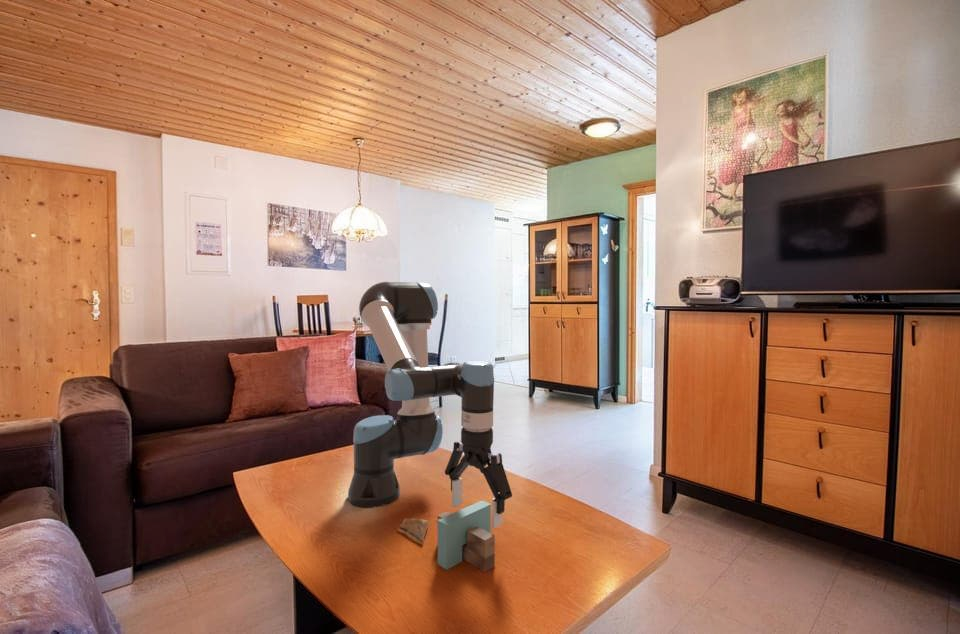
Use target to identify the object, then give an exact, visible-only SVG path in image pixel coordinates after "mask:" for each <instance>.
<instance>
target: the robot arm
mask: <svg viewBox="0 0 960 634" xmlns="http://www.w3.org/2000/svg"><path fill="white" fill-rule="evenodd" d="M433 288H434V287H432V286H431V285H430V284H428V283H427V282H426V283H425V282H418V281H415V282H411V281H409V282H407V281H406V282H405V281H404V282H403V281H401V282H400V281H395V282H394V281H393V282H392V281H390V282H389V281H381V282H378V283H376V284H373V285H372V286H370V287H369V288H368V289H366V291H365V292H364V293H363V295H362V296H361V298H360V301H359V306H358V312H359V316H360V318H361V321H362V323H363V324H364V325H365V326H366V327H368V328H369V330H370V332H371V335H372V337H373V339H374V341H375V343H376V344H375V345H377V348H378V350H379V353H380V355H381V357H382V359H383V362H384V364H385V366H386V368H387V372H386V373H385V377H384V389H385V394H386V396H387V398H388V399H389V400H391V401H393V402H394V401H395V402H398V401H399V402H402V403H401V405H402V406H401V408H400V409H399V410H398V411H397V418H396V419H394V417H393V416H391V415H389V414H383V415H378V414H377V415H373V416H369V417H367V418H363V419H361V420H360V421H358V422H357V423H356V424H355V425H354V428H353V438H352V442H353V473H352V478H351V482H350V484H349V488H348V491H347V500H348V502H349V503H350V504H352V505H353V506H356V507H361V508H374V507H382V506H385V505H388V504H390V503H393V502H395V501H396V500H397V499H399V498H400V495H401V490H400V489H401V487H400V483H399V481H398V476H397V475H396V471H395V467H394V466H395V465H394V464H395V460H396V459H404V458H408V457H413V456H414V457H415V456H420V455H421V456H423V455H426V454H429V453H434V452H435V451H437V449H438V448H440V446H441V442H442V439H443V433H444V432H443V429H444V428H443V424H442V419H441V417H440V416H439V415H438V414H436V413H435V409H434V408H433V407H432V406H431V403H430V398H437V397H438V398H439V397H446V396H458V397H460V398H461V406H460V407H461V426H462V428H460V432H461V433H460V440H457V441H454V443H453V448H452V452H451V455H450V457H449V460H448V462H447V465H446V468H445V470H444V474H445V475H446V476H449V479H450V491H451V507H452V508H457V507H458V506H461V505H462V504H463V478H462V475H463V473H465V471H466V469H467V468H468V467H469V466H470V467H474V468H476V469H478V470H479V472H480V473H481V474H483V476H484V478H485V480H486V482H487V485H488V486H489V488H490V490H491V493H492V494H493V496H494V497H493V498H492V499H491V529H496V528H498V527H500V526H502V525H503V513H505V505H506V504H505V503H506V502H505V501H507V500H508V499H511V498H512V497H513V493H512V489H511V487H510V483H509V480H508V477H507V474H506V470H505V467H504V465H503V457H502V456H503V455H502V454H501V452H498V453H493V452H492V448H491V447H492V445H493V443H494V429H493V427H494V396H495V395H494V393H495V375H494V374H495V373H494V365H493V364H492V363H491V362H489V361H484V360H467V361H465V362H463V363H462V364H461V363H459V362H452V361H451V362H447V363H445V364H442V365H436V366H435V365H434V366H429V355H428V354H429V351H428V350H429V349H428V329H429V328H430V326H432V320H433V319H435V318H436V317H437V315H438V310H439V303H438V298H437V295H436V294H437V293H436V291H435V290H434V289H433ZM463 454H464V455H463Z"/></svg>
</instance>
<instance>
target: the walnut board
mask: <svg viewBox="0 0 960 634" xmlns="http://www.w3.org/2000/svg"><path fill="white" fill-rule="evenodd" d="M452 513H453V512H449V511H445V512H441V513H440V514H438V515H437V521H438V520H439V519H441V518H444V517H446V516H448V515H450V514H452ZM495 539H496V538H495V534H492V533H489V532H487V531H485V530H483V529H481V528H479V527H477V526H476V527H474V528H472V529H470V530H468V531H467V543H466V544H464V545H462V560H464V561H465V562H467V563H469V564H471V565H472V566H474V567H476V568H478V569H479V570H481V571H483V572H484V573H486V572H488V571H490V569H493V568H494V567H495V562H496V561H495V546H496V545H495V541H496V540H495Z"/></svg>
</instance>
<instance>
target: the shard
mask: <svg viewBox="0 0 960 634" xmlns="http://www.w3.org/2000/svg"><path fill="white" fill-rule="evenodd" d="M428 527H429V521H428V520H426V519H423V518H404V519H403V521H402V523H401V524H400V526H398V527H397V531H398V533H402V534H405V536H406V537H408V538H409V539H411V540H412V541H413V542H415V543H417V544H420V545H423V544H424V540H425V535H426V534H427V530H428Z"/></svg>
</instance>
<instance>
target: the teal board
mask: <svg viewBox="0 0 960 634" xmlns="http://www.w3.org/2000/svg"><path fill="white" fill-rule="evenodd" d="M451 513H452V514H450V515H448V516H446V517H444V518H441V519H439V520H438V519H437V565H438V566H440V567H441V568H442V569H444V570H449V569H450V568H452V567H454V566H456V565H458V564H460V563H462V562H463V559H462V545H464V544H466V543H467V531H468V530H470V529H472V528H474V527H476V526H477V527H479V528H481V529H483V530H485V531H487V532H489V533H491V529H492V503H489V502H486V501H484V500H480V501H478V502H475V503H472V504H471V505H468V506H466V507H463V508H462V509H460V510H457V511H455V512H451ZM491 534H492V533H491Z"/></svg>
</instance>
